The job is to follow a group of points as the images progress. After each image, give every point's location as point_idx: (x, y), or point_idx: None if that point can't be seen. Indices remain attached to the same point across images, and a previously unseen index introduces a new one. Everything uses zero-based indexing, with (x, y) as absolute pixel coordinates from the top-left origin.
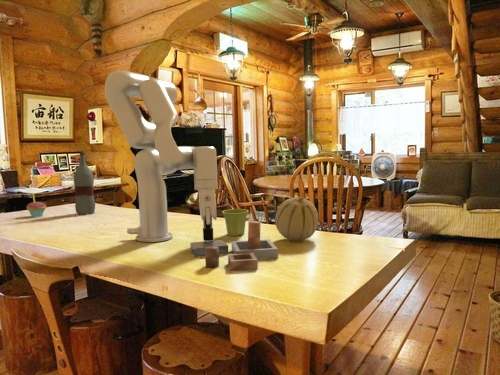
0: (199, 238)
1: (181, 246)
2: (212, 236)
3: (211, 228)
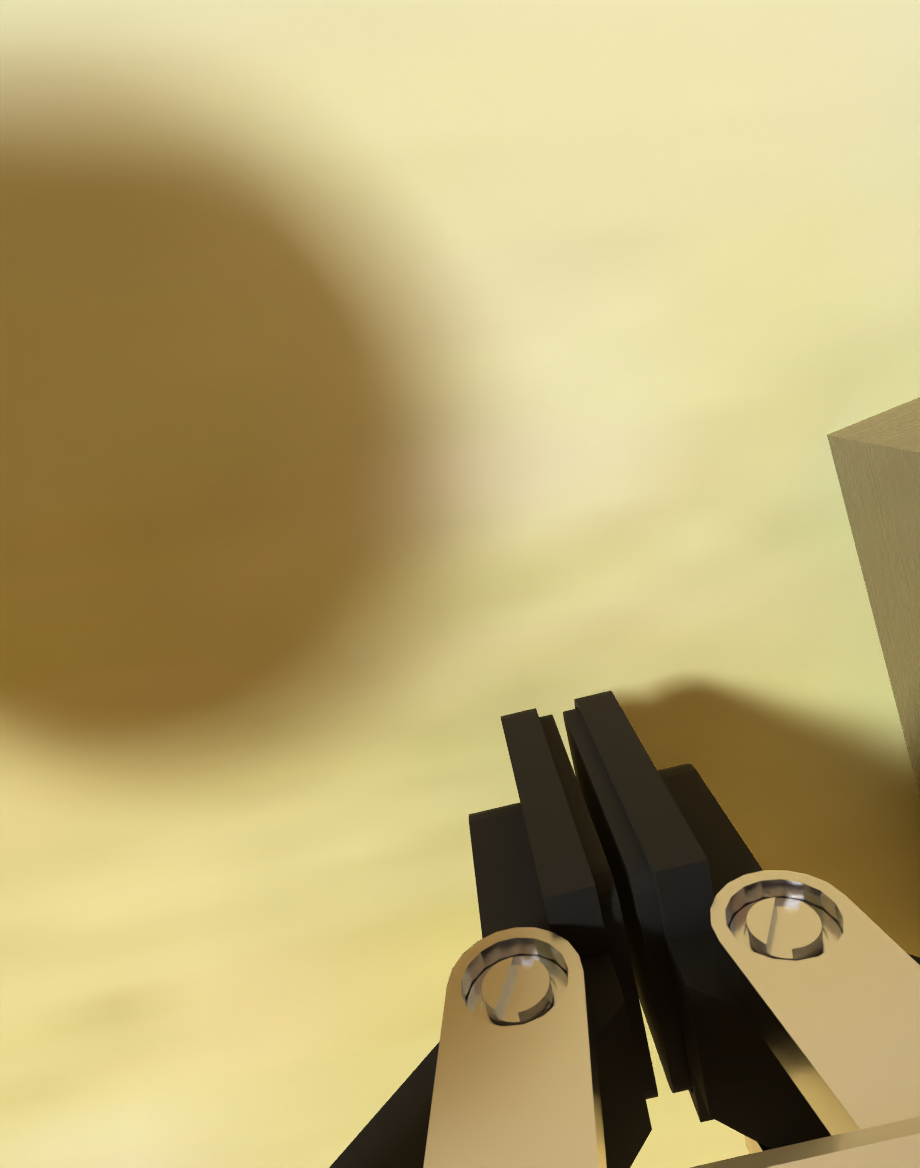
0: (37, 1001)
1: (656, 1124)
2: (630, 743)
3: (801, 896)
